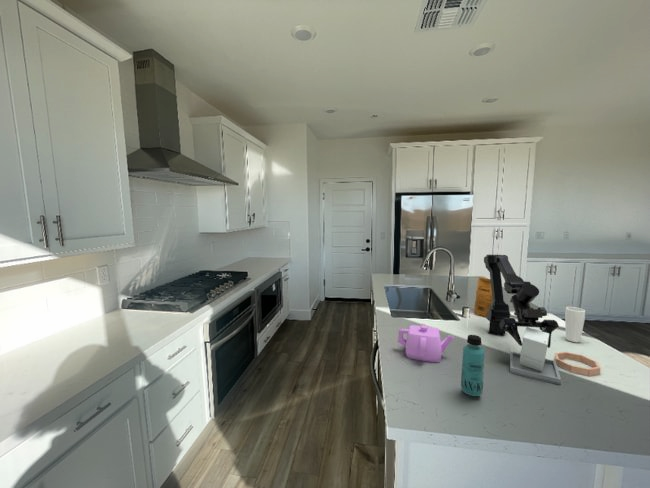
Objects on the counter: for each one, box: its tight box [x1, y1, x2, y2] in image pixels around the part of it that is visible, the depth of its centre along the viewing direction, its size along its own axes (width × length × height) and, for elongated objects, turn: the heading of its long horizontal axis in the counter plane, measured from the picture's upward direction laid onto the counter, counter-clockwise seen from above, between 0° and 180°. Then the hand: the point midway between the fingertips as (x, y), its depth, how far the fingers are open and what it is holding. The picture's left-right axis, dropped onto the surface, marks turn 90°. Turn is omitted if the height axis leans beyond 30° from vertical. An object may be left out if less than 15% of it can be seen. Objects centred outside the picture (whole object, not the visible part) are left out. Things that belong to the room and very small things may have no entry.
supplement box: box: [519, 327, 549, 371], centre depth 107 cm, size 7×7×13 cm
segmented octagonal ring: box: [553, 351, 601, 377], centre depth 109 cm, size 13×13×2 cm
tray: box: [509, 351, 562, 386], centre depth 108 cm, size 15×15×2 cm
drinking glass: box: [564, 306, 586, 343], centre depth 130 cm, size 7×7×15 cm
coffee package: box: [473, 276, 492, 318], centre depth 164 cm, size 10×12×22 cm
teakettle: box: [397, 323, 454, 363], centre depth 120 cm, size 17×17×12 cm
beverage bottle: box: [460, 334, 486, 397], centre depth 92 cm, size 6×7×20 cm
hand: (535, 346), depth 107 cm, fingers closed on supplement box, 9 cm apart
